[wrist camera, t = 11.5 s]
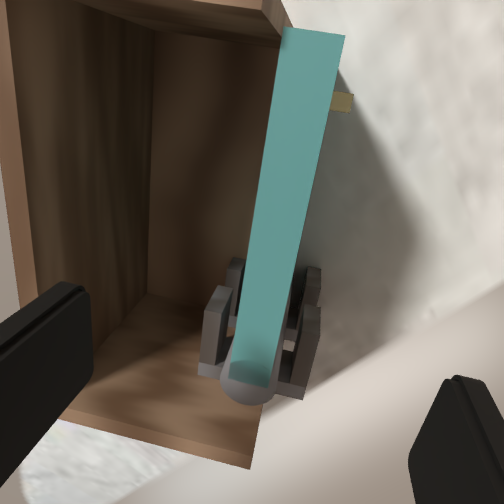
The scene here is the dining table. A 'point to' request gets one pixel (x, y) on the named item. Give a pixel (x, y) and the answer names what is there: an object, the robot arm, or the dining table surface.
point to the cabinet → (147, 200)
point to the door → (282, 208)
